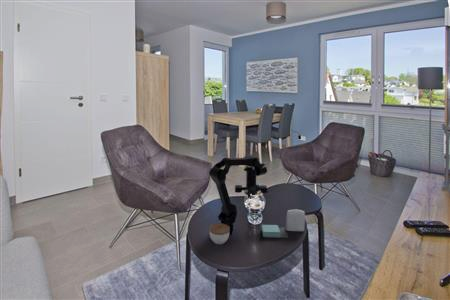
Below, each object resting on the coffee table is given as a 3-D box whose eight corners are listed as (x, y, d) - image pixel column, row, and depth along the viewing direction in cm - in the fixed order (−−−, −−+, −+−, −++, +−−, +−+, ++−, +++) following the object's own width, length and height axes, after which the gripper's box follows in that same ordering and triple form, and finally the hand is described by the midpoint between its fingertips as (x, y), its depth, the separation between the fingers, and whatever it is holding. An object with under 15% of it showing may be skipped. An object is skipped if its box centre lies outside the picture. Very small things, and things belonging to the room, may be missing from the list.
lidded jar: (233, 239, 159) (233, 223, 157) (222, 249, 150) (223, 232, 148) (216, 234, 165) (216, 218, 162) (205, 243, 156) (205, 226, 153)
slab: (263, 231, 161) (280, 232, 161) (261, 224, 169) (277, 225, 169) (263, 236, 162) (279, 237, 161) (261, 229, 169) (277, 229, 169)
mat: (266, 237, 162) (266, 236, 162) (263, 227, 172) (263, 227, 172) (288, 237, 161) (288, 237, 161) (284, 228, 172) (284, 227, 172)
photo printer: (286, 231, 168) (287, 211, 166) (285, 227, 173) (286, 207, 170) (304, 232, 168) (306, 211, 165) (303, 228, 172) (304, 208, 169)
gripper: (235, 181, 165) (235, 208, 169) (269, 182, 165) (268, 208, 168) (235, 175, 176) (234, 200, 180) (266, 176, 176) (265, 200, 179)
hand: (250, 202), depth 176 cm, fingers closed
